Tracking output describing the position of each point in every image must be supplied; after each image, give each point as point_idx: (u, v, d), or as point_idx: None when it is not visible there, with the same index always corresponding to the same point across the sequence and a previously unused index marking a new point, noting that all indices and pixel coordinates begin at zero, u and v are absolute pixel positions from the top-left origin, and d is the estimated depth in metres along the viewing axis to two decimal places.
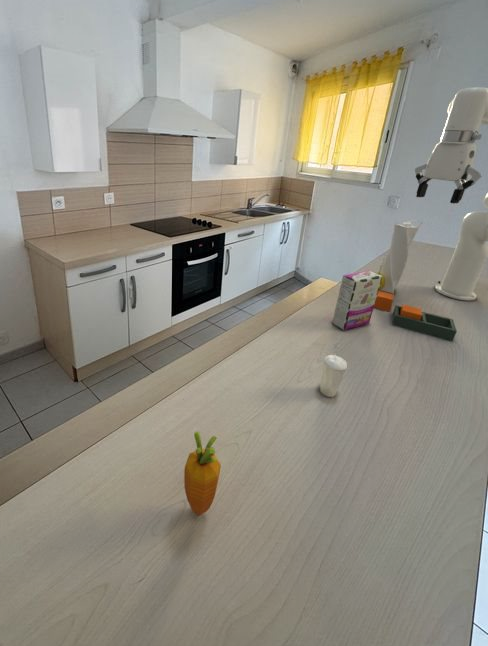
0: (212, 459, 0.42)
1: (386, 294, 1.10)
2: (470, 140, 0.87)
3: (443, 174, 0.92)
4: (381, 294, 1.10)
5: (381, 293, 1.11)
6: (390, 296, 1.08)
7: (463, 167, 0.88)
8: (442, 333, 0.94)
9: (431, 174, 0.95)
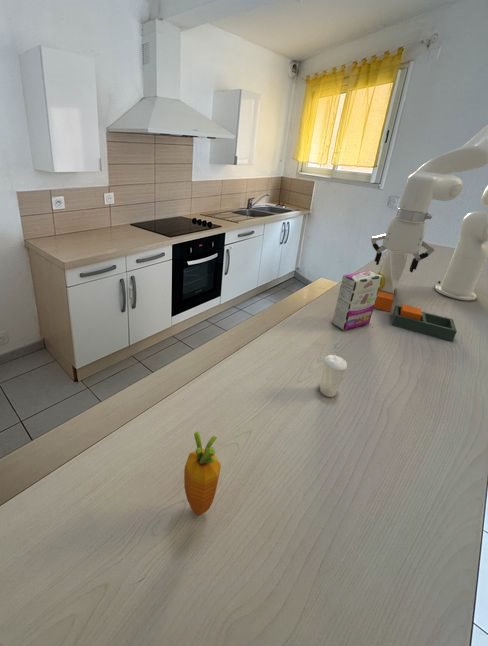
0: (212, 459, 0.42)
1: (386, 294, 1.10)
2: (424, 219, 0.97)
3: (403, 247, 1.01)
4: (381, 294, 1.10)
5: (381, 293, 1.11)
6: (390, 296, 1.08)
7: (421, 243, 0.98)
8: (442, 333, 0.94)
9: (391, 246, 1.02)
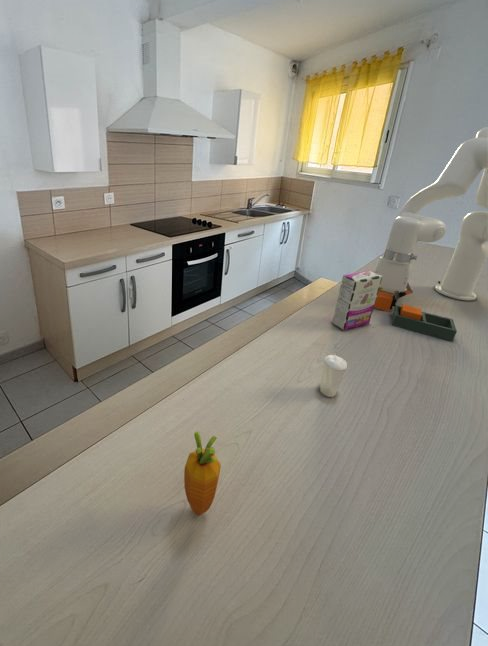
0: (212, 459, 0.42)
1: (385, 294, 1.10)
2: None
3: (390, 285, 1.06)
4: (380, 294, 1.10)
5: (381, 293, 1.11)
6: (389, 296, 1.09)
7: (407, 281, 1.03)
8: (442, 333, 0.94)
9: None
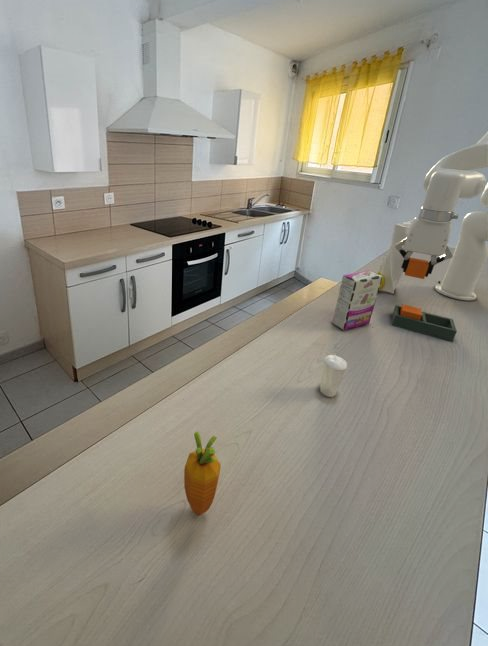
0: (212, 459, 0.42)
1: (420, 260, 1.00)
2: None
3: (427, 249, 0.95)
4: (414, 261, 0.99)
5: (414, 260, 1.00)
6: (425, 262, 0.98)
7: (446, 244, 0.93)
8: (442, 333, 0.94)
9: (413, 248, 0.97)
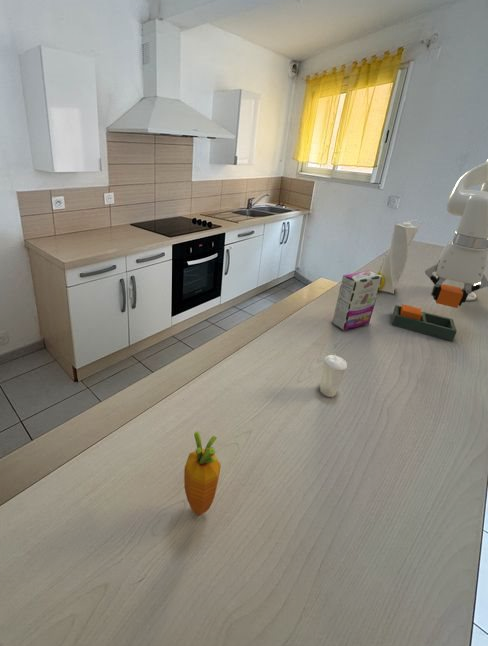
0: (212, 459, 0.42)
1: (452, 288, 0.93)
2: None
3: (461, 277, 0.89)
4: (446, 288, 0.93)
5: (446, 287, 0.94)
6: (458, 290, 0.92)
7: (483, 272, 0.86)
8: (442, 333, 0.94)
9: (446, 275, 0.90)
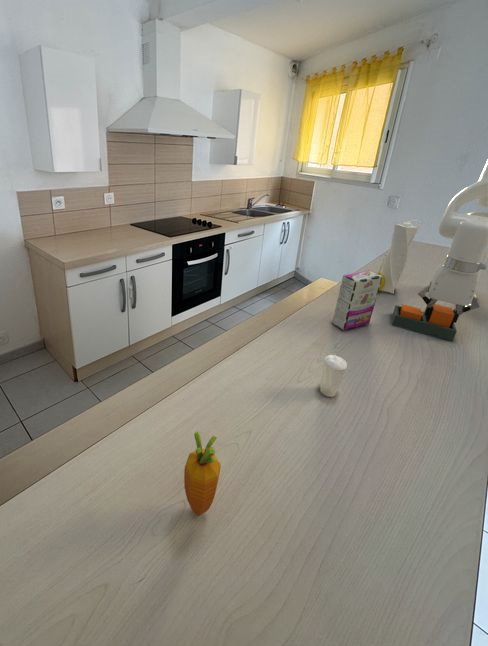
0: (212, 459, 0.42)
1: (444, 308, 0.96)
2: None
3: (452, 299, 0.92)
4: (438, 308, 0.96)
5: (438, 307, 0.97)
6: (449, 311, 0.95)
7: (473, 295, 0.89)
8: (442, 333, 0.94)
9: (438, 297, 0.93)
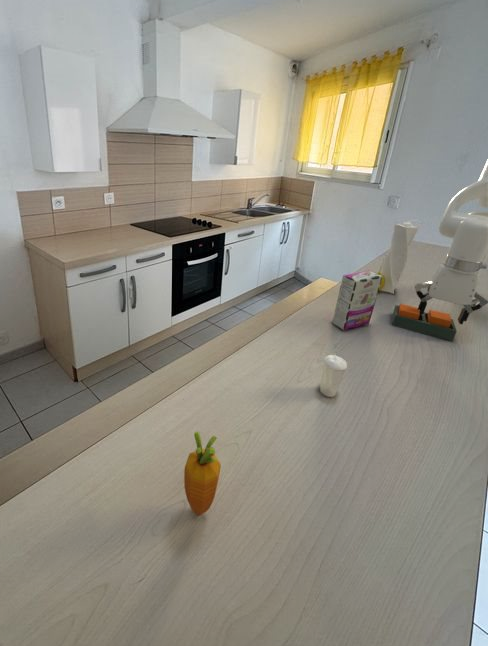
0: (212, 459, 0.42)
1: (441, 314, 0.97)
2: (478, 269, 0.87)
3: (453, 298, 0.91)
4: (436, 315, 0.97)
5: (436, 313, 0.98)
6: (447, 317, 0.96)
7: (474, 294, 0.89)
8: (442, 333, 0.94)
9: (438, 296, 0.93)
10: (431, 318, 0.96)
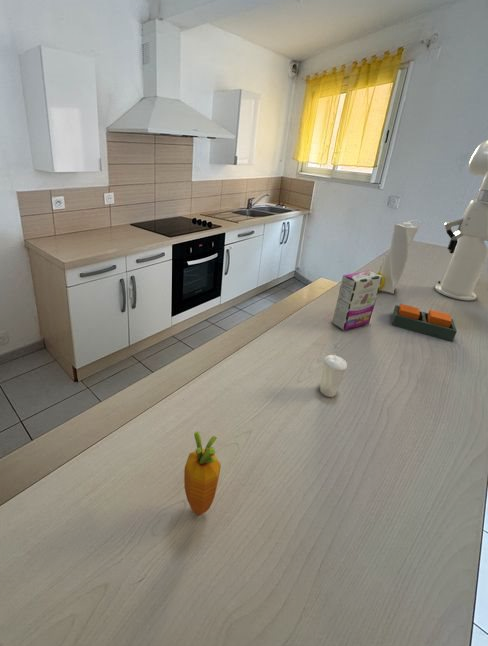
0: (212, 459, 0.42)
1: (441, 314, 0.97)
2: None
3: (485, 233, 0.91)
4: (436, 315, 0.97)
5: (436, 313, 0.98)
6: (447, 317, 0.96)
7: None
8: (442, 333, 0.94)
9: (470, 232, 0.93)
10: (431, 318, 0.96)
